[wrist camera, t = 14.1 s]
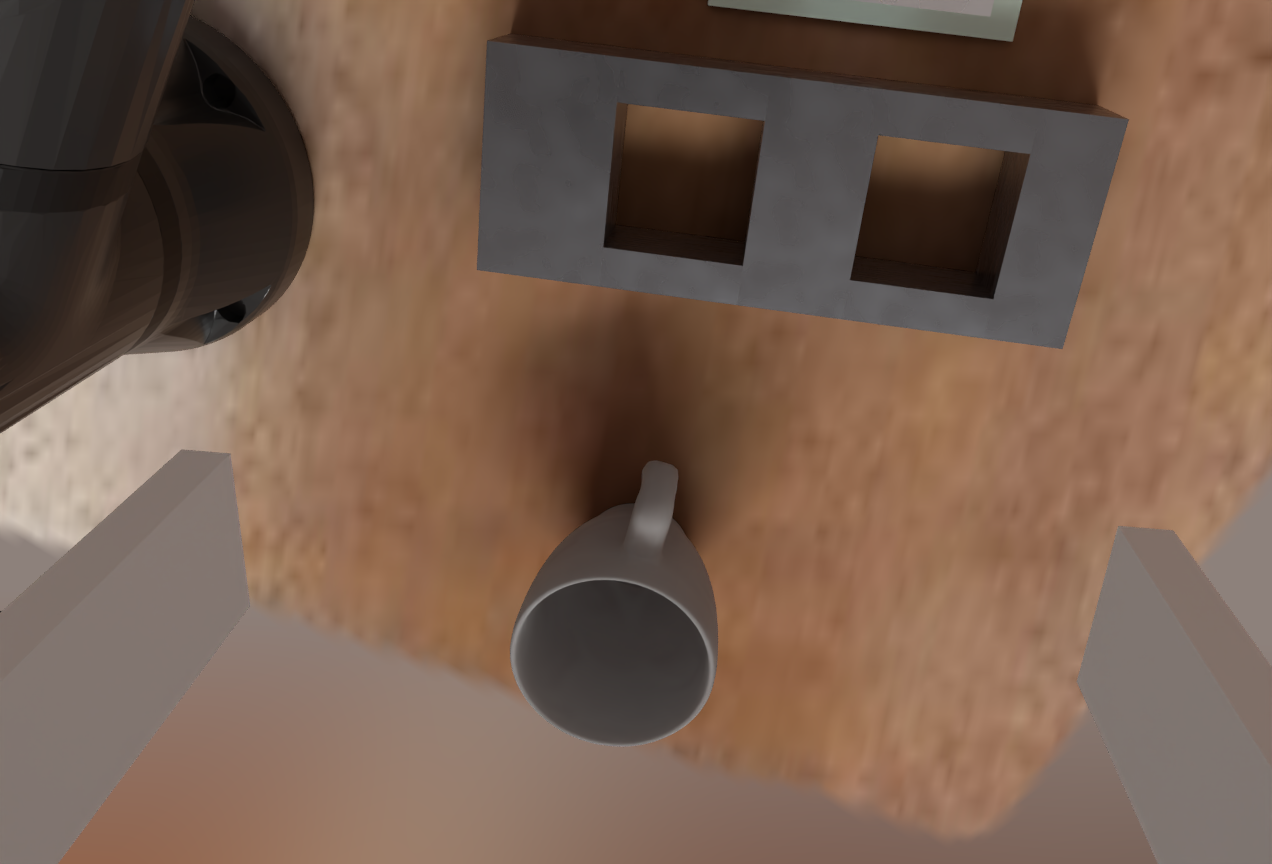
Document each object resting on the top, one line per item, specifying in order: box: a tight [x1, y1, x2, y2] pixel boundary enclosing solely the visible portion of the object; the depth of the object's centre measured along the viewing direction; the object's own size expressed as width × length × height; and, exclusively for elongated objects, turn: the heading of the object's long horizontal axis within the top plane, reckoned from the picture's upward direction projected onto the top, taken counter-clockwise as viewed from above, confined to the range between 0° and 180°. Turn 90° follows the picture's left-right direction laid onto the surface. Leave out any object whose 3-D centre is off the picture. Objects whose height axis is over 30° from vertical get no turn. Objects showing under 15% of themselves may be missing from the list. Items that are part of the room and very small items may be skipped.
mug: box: [510, 460, 718, 746], centre depth 49 cm, size 12×9×10 cm
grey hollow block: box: [477, 34, 1129, 349], centre depth 44 cm, size 24×9×4 cm, turn 84°
